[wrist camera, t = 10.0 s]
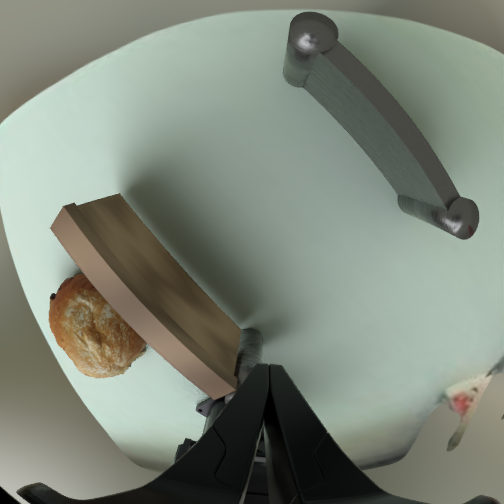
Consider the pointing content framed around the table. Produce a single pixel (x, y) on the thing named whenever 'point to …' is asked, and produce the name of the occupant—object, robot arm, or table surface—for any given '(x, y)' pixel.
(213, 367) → the gate
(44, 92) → the table surface
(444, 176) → the gate frame
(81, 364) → the bread roll
